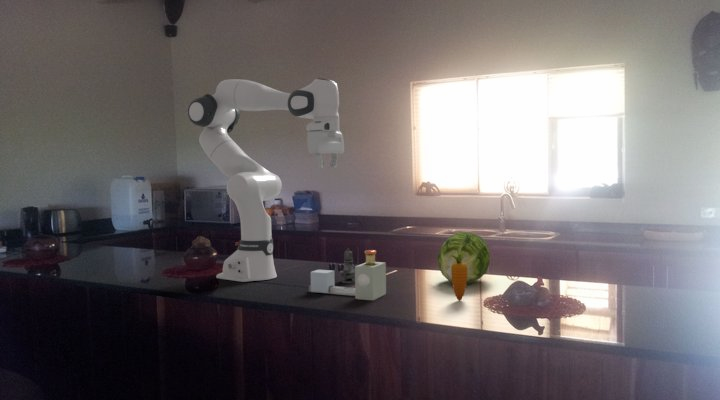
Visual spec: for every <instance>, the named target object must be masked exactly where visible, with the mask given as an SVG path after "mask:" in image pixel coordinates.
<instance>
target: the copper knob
mask: <svg viewBox="0 0 720 400" xmlns="http://www.w3.org/2000/svg"><path fill="white" fill-rule="evenodd" d="M364 254H365V263H366V265H369V266H375V262H376V255H377V250H376V249H367V250H364Z"/></svg>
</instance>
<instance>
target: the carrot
mask: <svg viewBox="0 0 720 400" xmlns="http://www.w3.org/2000/svg"><path fill="white" fill-rule="evenodd" d="M457 253H458V257H456V256H455V255H453V254H452V255H451V256H452V257H454V258H455V259H456V261H457V262H456V263H453V264H452V267H451V271H452V282H451V283H452V288H453V292H454V294H455V297H456V299H457V300H458V301H459V302H461V300H463V297H464V295H465V292H466V287H467V284H466V283H467V265H466V264H465V263H462V262H461V261H462V258H463V255H464V253H462V254H461V253H460V250H457Z"/></svg>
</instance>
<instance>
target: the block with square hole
mask: <svg viewBox="0 0 720 400" xmlns="http://www.w3.org/2000/svg"><path fill="white" fill-rule="evenodd" d="M386 263H387V262H382V261H375V266H369V265H366V262H364V263H361V264H358V265H355V266H354V270H355V277H354V280H355V283H354V285H355V286H354V288H355V296H354V299H355V300H365V301H376V300H377V299H379V298H381V297H383V296H385V295H386V294H387V264H386Z"/></svg>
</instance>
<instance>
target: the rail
mask: <svg viewBox="0 0 720 400" xmlns="http://www.w3.org/2000/svg"><path fill="white" fill-rule="evenodd" d="M308 292H309V293H312V292H311V284H310V285H308ZM314 293H319V294H323V293H322V292H314ZM326 294H327V295H328V294H329V295H339V296H340V295H341V296H351V297H352V296H353V297H355V287H349V286H337V285H335V286H329V293H326Z"/></svg>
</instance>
